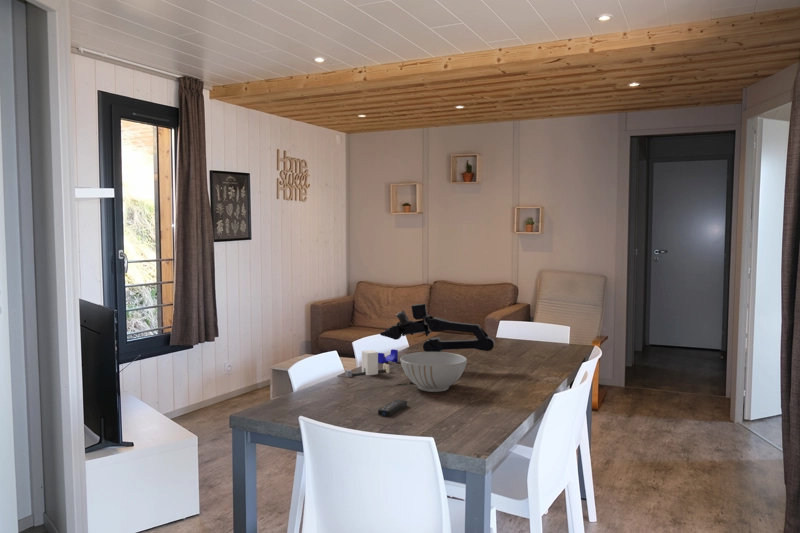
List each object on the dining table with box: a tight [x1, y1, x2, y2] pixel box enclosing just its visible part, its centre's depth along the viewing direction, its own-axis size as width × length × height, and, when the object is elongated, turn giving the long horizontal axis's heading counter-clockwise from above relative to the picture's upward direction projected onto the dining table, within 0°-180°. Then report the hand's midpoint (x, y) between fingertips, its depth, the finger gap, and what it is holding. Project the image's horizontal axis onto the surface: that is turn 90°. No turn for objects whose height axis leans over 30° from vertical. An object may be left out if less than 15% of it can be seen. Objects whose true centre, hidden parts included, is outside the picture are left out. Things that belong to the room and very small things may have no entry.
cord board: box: [344, 362, 391, 378], centre depth 262 cm, size 20×10×5 cm, turn 119°
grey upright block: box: [361, 349, 379, 376], centre depth 262 cm, size 5×6×10 cm
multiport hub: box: [377, 399, 408, 418], centre depth 213 cm, size 4×14×2 cm, turn 153°
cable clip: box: [378, 348, 399, 364], centre depth 289 cm, size 12×4×6 cm, turn 144°
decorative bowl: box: [399, 351, 468, 393], centre depth 244 cm, size 27×27×12 cm
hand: (382, 332), depth 283 cm, fingers open, 9 cm apart
